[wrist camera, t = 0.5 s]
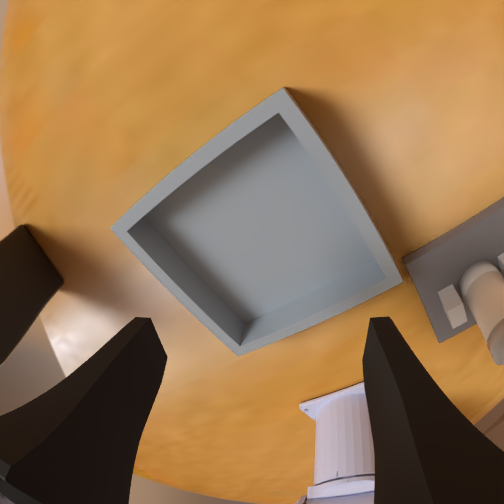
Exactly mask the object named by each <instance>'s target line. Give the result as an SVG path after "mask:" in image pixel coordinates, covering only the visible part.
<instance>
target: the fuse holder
mask: <svg viewBox="0 0 504 504" xmlns="http://www.w3.org/2000/svg"><path fill="white" fill-rule="evenodd" d="M402 259H403V261H404V263H405V265H406V267H407V270H408V272H409V274H410V276H411V278H412V280H413V282H414V285H415V287H416V289H417V291H418V293H419V296H420V298H421V300H422V303H423V305H424V307H425V310H426V312H427V314H428V317H429V319H430V322H431V324H432V327H433V329H434V332H435V334H436V337H437V339H438V342H439V343H441V342H443V341H445V340H447V339H449V338H451V337H452V336H454V335H456V334H458V333H460V332H462V331H464V330H465V329H467V328H469V327H471V326H473V325H474V324H476V323H477V322H476V320H475V318H474V316H473V314H472V313H471V311H470V309H469V307H468V306H467V305H466V303H465V301H464V299H463V297H462V296H461V294H460V292H459V282H460V279H461V277H462V275H463V274H464V272H465V271H466V270H467V269H468V268H469V267H470V266H471V265H473V264H474V263H476V262H478V261H482V260H488V261H491V262H492V263H493V264H494V265H495V267H496V268H497V269H498V271H499V272H500V273H501V275H502V277H503V278H504V197H503V198H502V199H500V200H499V201H497V202H496V203H494V204H493V205H491V206H489V207H488V208H486V209H485V210H483V211H482V212H480V213H478V214H477V215H475V216H474V217H472V218H470V219H469V220H467V221H465V222H464V223H462V224H461V225H459V226H457V227H456V228H454V229H452V230H451V231H449V232H447V233H446V234H444V235H442V236H440V237H439V238H437V239H435V240H434V241H432V242H430V243H428V244H427V245H425V246H423V247H421V248H420V249H418V250H416V251H414V252H412V253H411V254H409V255H407V256H405V257H403V258H402Z"/></svg>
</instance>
